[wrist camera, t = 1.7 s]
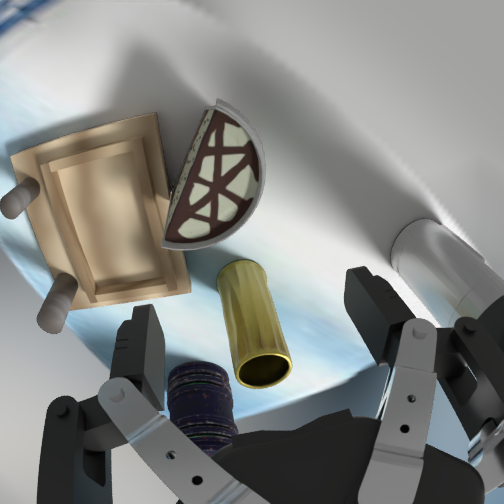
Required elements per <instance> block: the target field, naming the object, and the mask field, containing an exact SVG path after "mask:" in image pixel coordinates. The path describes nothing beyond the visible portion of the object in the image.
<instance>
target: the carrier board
mask: <svg viewBox="0 0 504 504" xmlns="http://www.w3.org/2000/svg"><path fill="white" fill-rule="evenodd" d="M10 157H11V161H12V165H13V169H14V172H15V176H16V179H17V182H18V185H17V186H16V187H15V188H13V189H12V190H11V191H10V192H8V193H7V194H6V195H5V196H3V197H2V199H1V201H0V210H1V212H2V214H3V215H4V216H5V217H6V218H8V219H15V218H16V217H18V215H19V214H20V213H21V212H22V211H23V210H24V209H25V208H26V210H27V213H28V216H29V219H30V221H31V224H32V227H33V230H34V232H35V235H36V237H37V240H38V243H39V245H40V248H41V250H42V252H43V255H44V257H45V260H46V262H47V264H48V267H49V269H50V271H51V273H52V276H53V278H54V280H55V281H54V283H53V285H52V287H51V289H50V291H49V293H48V295H47V297H46V299H45V301H44V303H43V305H42V307H41V309H40V312H39V313H38V315H37V323H38V325H39V326H40V327H41V328H42V329H43V330H44V331H46V332H47V333H50V334H57V333H60V332H61V331H62V328H63V325H64V323H65V320H66V317H67V315H68V312H69V311H72V310H79V309H86V308H93V307H100V306H107V305H114V304H121V303H128V302H134V301H141V300H148V299H154V298H160V297H167V296H173V295H179V294H186V293H191V280H190V276H189V272H188V268H187V263H186V259H185V255H184V251H182V250H171V249H166V248H162V247H161V240H162V239H163V234H164V229H165V224H166V218H167V213H168V208H169V203H170V198H171V190H170V185H169V180H168V175H167V170H166V165H165V159H164V154H163V148H162V143H161V137H160V131H159V125H158V119H157V113H156V112H155V113H150V114H146V115H141V116H137V117H132V118H128V119H124V120H120V121H115V122H112V123H108V124H104V125H100V126H96V127H93V128H89V129H86V130H82V131H79V132H75V133H72V134H69V135H66V136H62V137H59V138H56V139H53V140H50V141H47V142H44V143H41V144H38V145H36V146H33V147H30V148H27V149H25V150H22V151H19V152H17V153H16V154H14V155H12V156H10Z"/></svg>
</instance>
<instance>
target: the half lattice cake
mask: <svg viewBox="0 0 504 504" xmlns="http://www.w3.org/2000/svg"><path fill="white" fill-rule="evenodd" d="M265 171H266V164H265V156H264V151H263V147H262V144H261V141H260V139H259V137H258V135H257V133H256V131H255V129H254V128H253V126H252V125H251V124H250V122H249V121H248V120H247V119H246V118H245V117H244V116H243V115H242V114H241V113H240V112H239V111H238V110H237V109H235V108H234V107H232V106H231V105H229V104H228V103H226V102H224V101H222V100H220V99H218V98H217V102H216V106H214V107H206V108H205V111H204V113H203V115H202V117H201V120H200V122H199V124H198V127H197V129H196V132H195V134H194V136H193V139H192V141H191V144H190V146H189V149H188V151H187V154H186V156H185V159H184V161H183V164H182V166H181V169H180V172H179V174H178V177H177V179H176V182H175V185H174V188H173V190H172V194H171V198H170V203H169V208H168V213H167V218H166V224H165V229H164V234H163V239H162V240H161V247H162V248H166V249H171V250H182V251H184V250H196V249H201V248H206V247H209V246H212V245H215V244H217V243H219V242H221V241H223V240H225V239H227V238H228V237H230V236H231V235H232V234H234V233H235V232H236V231H237V230H239V229H240V228H241V227H242V226H243V225H244V224H245V223H246V222H247V220H248V219H249V218H250V217H251V215H252V214H253V212H254V211H255V209H256V207H257V205H258V203H259V201H260V198H261V196H262V193H263V188H264V184H265Z"/></svg>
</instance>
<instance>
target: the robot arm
mask: <svg viewBox="0 0 504 504" xmlns="http://www.w3.org/2000/svg"><path fill="white" fill-rule="evenodd" d="M391 264H392V267H393V269H394V270H395V271H396V272H397V273H398V275H399V276H400V277H401V278H402V279H403V280H404V282H405V283H406V284H407V285H408V286H409V288H410V289H411V290H412V291H413V292H414V294H415V295H416V296H417V297H418V298H419V299H420V301H421V302H422V303H423V304H424V306H425V307H426V308H427V309H428V310H429V312H430V313H431V314H432V315H433V317H434V318H435V319H436V320H437V322H438V323H439V324H440V325H441V327H442V328H435V326H434V325H433V324H432V323H431V322H429V321H427V320H425V319H421V318H416V317H415V315H414V314H413V313H412V311H411V310H410V309H409V308H408V306H407V305H406V304H405V303H404V301H403V300H402V299H401V297H399V295H398V294H397V292H396V291H395V290H394V289H393V287H392V286H391V285H390V284H389V282H388V281H386V280H385V279H383V278H382V277H380V276H378V275H376V276H373V275H372V274H371V272H370V271H369V270H368V269H367V267H365V266H361V267H356V268H352V269H348V270H347V272H346V281H345V292H344V304H345V308H346V311H347V313H348V315H349V316H350V318H351V320H352V321H353V323H354V325H355V327H356V328H357V330H358V332H359V333H360V335H361V337H362V339H363V340H364V342H365V344H366V346H367V347H368V349H369V351H370V353H371V354H372V356H373V358H374V360H375V361H376V363H377V365H378V366H383V365H386V364H388V365H389V367H390V370H389V373H388V378H387V381H386V385H385V389H384V393H383V396H382V399H381V403H380V406H379V410H378V413H377V415H376V418H371V417H366V416H352V415H351V412H350V410H349V409H346V410H342V411H339V412H335V413H332V414H328V415H325V416H322V417H319V418H317V419H315V420H314V421H312V422H310V423H308V424H306V425H304V426H302V427H300V428H298V429H296V430H292V431H264V430H261V431H255V432H250V433H244V434H238V435H232V436H231V440H232V443H231V444H229V445H226V446H225V447H223V448H221V449H219V450H218V451H216V452H215V453H214V454H213V455H211V456H210V457H209V456H207V455H206V454H205V453H204V452H203V451H202V450H201V449H200V448H198V447H197V446H196V445H195V444H194V443H193V442H192V441H191V440H190V439H189V438H188V437H187V436H186V435H185V434H183V433H182V432H181V431H180V430H179V429H178V428H177V427H176V426H175V425H174V424H173V423H172V422H171V421H170V420H169V419H168V418H167V417H166V416H164V415H163V416H162V415H161V414H160V413H159V412H158V411H164V374H165V339H164V334H163V331H162V328H161V325H160V322H159V320H158V317H157V314H156V312H155V309H154V306H153V305H152V304H148V305H141V306H135V307H134V308H133V313H132V319H131V320H125V321H124V322H123V323H122V325H121V326H120V328H119V329H118V332H117V337H116V342H115V350H114V353H113V359H112V365H111V371H110V378H109V380H108V381H106V382H105V383H104V384H103V385H102V386H101V387H100V389H99V392H98V395H96V396H94V397H91V398H89V399H86V400H83V401H80V402H77V401H76V400H75V399H74V398H73V397H71V396H61V397H58V398H56V399H55V400H53V401H52V402H51V404H50V405H49V407H48V409H47V413H46V419H45V426H44V432H43V439H42V447H41V455H40V464H39V475H38V487H37V504H113V500H112V474H111V449H113V448H115V447H118V446H121V445H124V444H127V443H130V445H131V446H132V447H133V448H134V450H135V451H136V452H137V453H138V455H139V456H140V457H141V458H142V459H143V460H144V462H145V463H146V464H147V465H148V466H149V467H150V468H151V469H152V471H153V472H154V473H155V474H156V475H157V476H158V477H159V478H160V479H161V480H162V481H163V483H164V484H165V485H166V486H167V487H168V488H169V489H170V490H171V491H172V492H173V493H174V494H175V495H176V496H177V497H178V498H179V500H178V502H177V503H176V504H484V500H485V494H487V493H488V492H490V491H491V490H493V489H495V488H496V487H504V280H503V279H502V278H501V277H500V276H499V275H498V274H496V273H495V272H494V271H493V270H492V269H491V268H490V267H489V266H488V265H486V264H485V263H484V258H483V257H482V256H481V255H480V254H479V253H478V252H477V251H475V250H474V249H473V248H472V247H471V246H469V245H468V244H467V243H466V242H465V241H463V240H462V239H461V238H460V237H458V236H457V235H456V234H455V233H453V232H452V231H451V230H450V229H448V228H447V227H446V226H444V225H439V224H437V223H436V222H435V221H433V220H431V219H419V220H417V221H414V222H412V223H411V224H409V225H408V226H407V227H406V228H404V229H403V231H402V232H401V233H400V234H399V235H398V237H397V239H396V240H395V242H394V245H393V247H392V251H391ZM468 366H469V368H470V369H471V370H472V372H473V374H474V375H475V377H476V379H477V381H476V379H475V378H474V376H473V374H472V373H471V371H470V370H469V368H468ZM436 379H437V380H438V381H439V383H440V385H441V387H442V388H443V390H444V392H445V394H446V396H447V398H448V399H449V401H450V403H451V405H452V407H453V409H454V410H455V412H456V414H457V416H458V418H459V420H460V422H461V424H462V426H463V428H464V430H465V432H466V434H467V436H468V438H469V440H470V443H469V446H468V462H469V463H467V462H465V461H463V460H461V459H458V458H456V457H454V456H452V455H450V454H448V453H445V452H443V451H441V450H439V449H437V448H435V447H433V446H431V445H428V444H426V439H427V435H428V430H429V425H430V419H431V413H432V407H433V401H434V394H435V387H436Z"/></svg>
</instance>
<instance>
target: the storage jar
mask: <svg viewBox="0 0 504 504" xmlns="http://www.w3.org/2000/svg"><path fill="white" fill-rule="evenodd" d="M167 399H168V400H167V406H168V410H169V412H170V421H171V422H172V423H173V424H174V425H175V426H176V427H177V428H178V429H179V430H180V431H181V432H182V433H183V434H185V435H186V436H187V437H188V438H189V439H190V440H191V441H192V442H193V443H194V444H195V445H196V446H197V447H198V448H200V449H201V450H202V451H203V452H204V453H205V454H206V455H207V456H209V457H210V456H211V455H213V454H214V453H215V452H216V451H218V450H219V449H221V448H223V447H225V446H226V445H229V444H231V443H232V440H231V436H232V435H238V429H237V426H236V424H235V423H234V418H233V412H232V409H233V399H232V392H231V387H230V384H229V378H228V374H227V372H226V371H225V370H224V369H223V368H222V367H220V366H218V365H216V364H214V363H210V362H204V361H194V362H188V363H184V364H181V365H179V366H177V367H176V368H174V369H173V370H172V371H171V372H170V374H169V376H168V391H167Z"/></svg>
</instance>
